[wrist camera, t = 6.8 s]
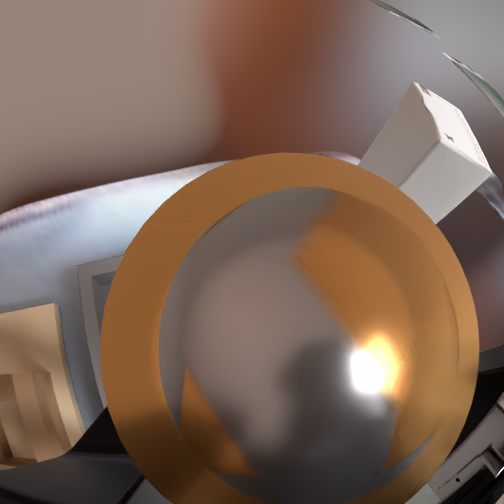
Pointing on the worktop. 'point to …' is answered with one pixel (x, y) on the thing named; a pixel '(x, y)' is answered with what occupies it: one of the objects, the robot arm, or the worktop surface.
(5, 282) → the worktop surface
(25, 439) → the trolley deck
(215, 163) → the worktop surface
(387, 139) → the skincare box
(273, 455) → the pin
